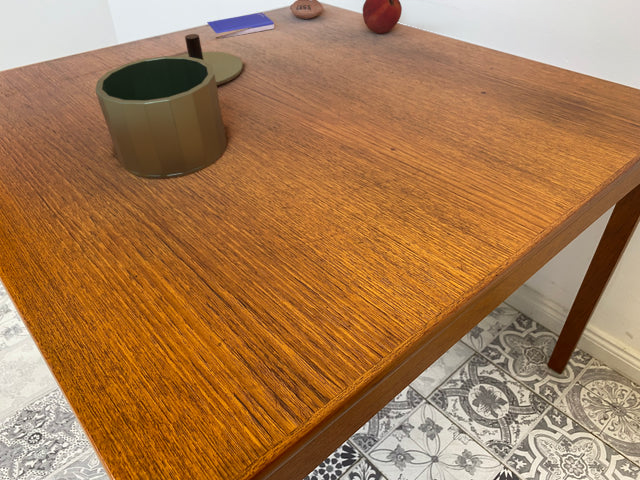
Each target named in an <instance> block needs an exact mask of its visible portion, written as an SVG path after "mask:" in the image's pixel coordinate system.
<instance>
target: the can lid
mask: <svg viewBox="0 0 640 480" xmlns="http://www.w3.org/2000/svg"><path fill="white" fill-rule="evenodd" d="M184 40H185V44H186V51H187V53H185V54H180V55H179V56H187V57H192V58H197V59H202V60H204V61H205V62H207V63H208V64H210V65H212V66H213V70H214V74H215V80H216V85H217V86H219V85H222V84H225V83H228V82H230V81H231V80H233V79H235V78H236V77H238V76H239V75H240V74H241V73H242V71H243V67H244V66H243V61H242V60H241V58H240V57H238V56H237V55H234V54H231V53H229V52H222V51H203V49H202V44H201V38H200V35H199V34H198V33H197V34H196V33H190V34H186V35H185V36H184Z"/></svg>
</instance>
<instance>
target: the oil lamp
mask: <svg viewBox="0 0 640 480" xmlns="http://www.w3.org/2000/svg"><path fill="white" fill-rule="evenodd" d="M289 9H290V11H291V13H292V14H293V15H294V16H295V17H297V18H300V19H302V20H310V19H313V18H315V17H317V16H318V15H319V14H321V13H322V12H324V10H325V8H324V6H323V5H322V4H321V2H319V0H295V1H294V2H293V3H292V4H291V5H290V6H289Z"/></svg>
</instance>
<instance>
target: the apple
mask: <svg viewBox="0 0 640 480" xmlns="http://www.w3.org/2000/svg"><path fill="white" fill-rule="evenodd" d="M402 12H403V7H402V4H401V2H400V0H365V2H364V3H363V5H362V19H363V22H364V24H365V26H366V27H367V28H368V29H369V30H370V31H371V32H373V33H376V34H386V33H388V32H391V31H392V30H393V29H394V28H395V27H396V26H397V24H398V22H399V21H400V19H401V16H402Z"/></svg>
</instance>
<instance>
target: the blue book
mask: <svg viewBox="0 0 640 480" xmlns="http://www.w3.org/2000/svg"><path fill="white" fill-rule="evenodd" d="M206 23H207V24H208V26H209V27H210V28H211V29H212V30H213V31H214V32H215V34H221V33H222V34H223V33H226V34H223V35H219V36H216V37H215V38H216V40H220V39H221V40H222V39H227V38H231V37H236V36H243V35H247V34H253V33H258V32H264V31H269V30H274V29H275V23H274V21H273V20H272V19H271V18H269V16H267V15H266V14H265V13H263V11H262V12H256V13H251V14H250V13H249V14H245V15H240V16H234V17H228V18H223V19H217V20H212V21H211V20H210V21H207V22H206ZM232 31H234V32H232ZM228 32H229V33H228Z"/></svg>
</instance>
